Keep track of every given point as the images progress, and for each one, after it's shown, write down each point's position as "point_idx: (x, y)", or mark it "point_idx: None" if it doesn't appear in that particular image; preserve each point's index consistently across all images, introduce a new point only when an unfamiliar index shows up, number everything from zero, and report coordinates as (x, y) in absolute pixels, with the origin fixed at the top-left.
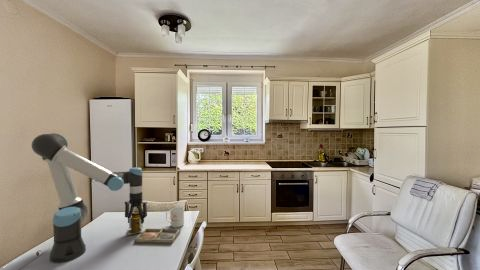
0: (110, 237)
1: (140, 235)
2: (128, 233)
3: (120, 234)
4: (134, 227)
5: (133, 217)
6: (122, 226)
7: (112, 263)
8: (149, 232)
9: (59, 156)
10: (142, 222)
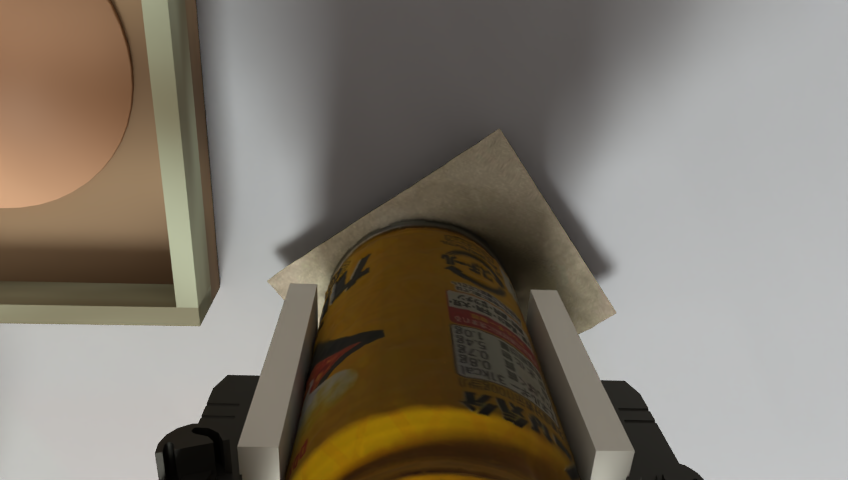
0: (839, 68)
1: (153, 23)
2: (525, 192)
3: (685, 196)
4: (415, 270)
5: (476, 459)
6: (759, 476)
7: None
8: (85, 229)
9: None
10: (225, 391)
